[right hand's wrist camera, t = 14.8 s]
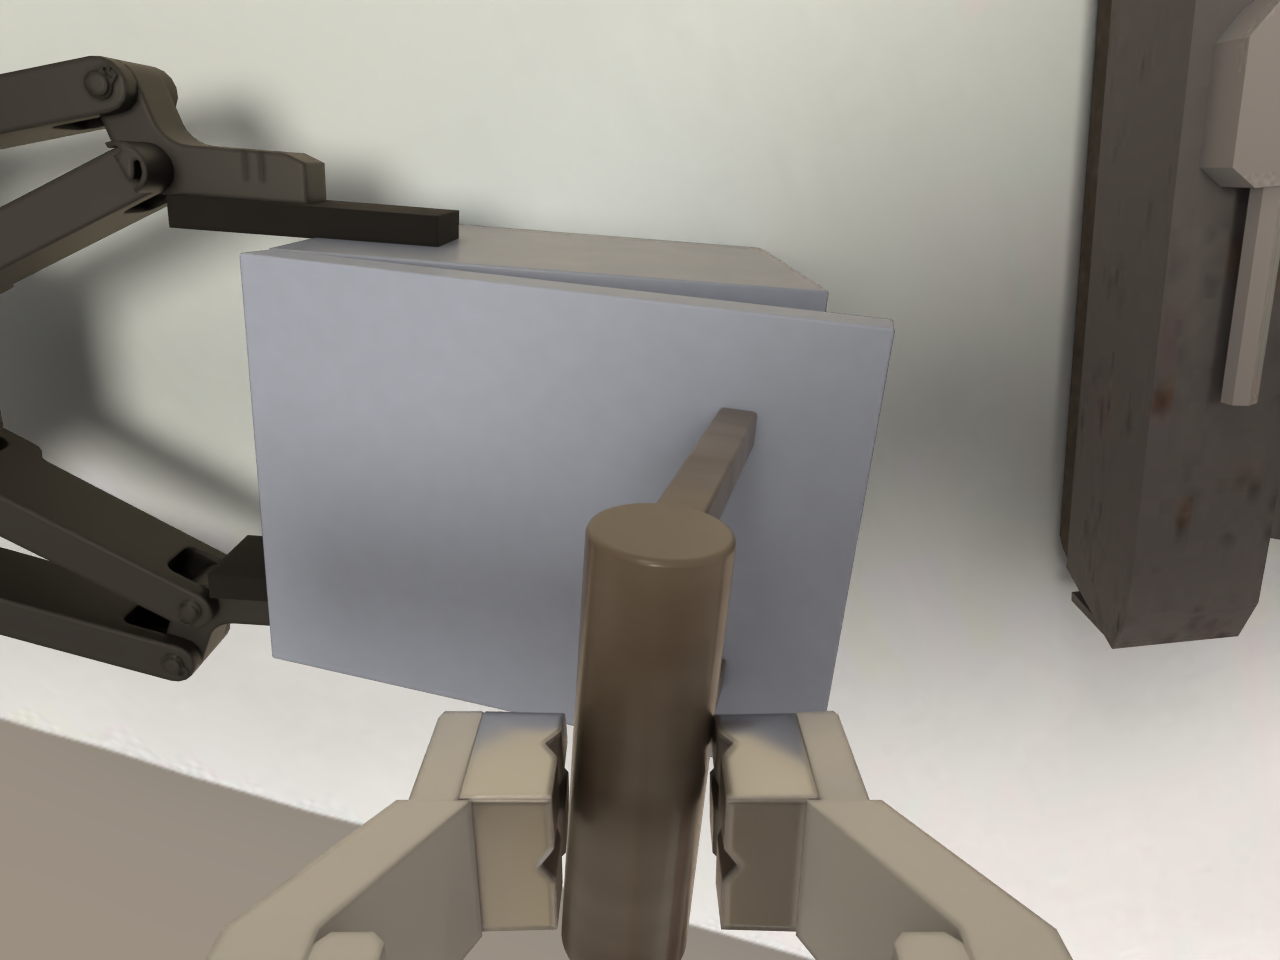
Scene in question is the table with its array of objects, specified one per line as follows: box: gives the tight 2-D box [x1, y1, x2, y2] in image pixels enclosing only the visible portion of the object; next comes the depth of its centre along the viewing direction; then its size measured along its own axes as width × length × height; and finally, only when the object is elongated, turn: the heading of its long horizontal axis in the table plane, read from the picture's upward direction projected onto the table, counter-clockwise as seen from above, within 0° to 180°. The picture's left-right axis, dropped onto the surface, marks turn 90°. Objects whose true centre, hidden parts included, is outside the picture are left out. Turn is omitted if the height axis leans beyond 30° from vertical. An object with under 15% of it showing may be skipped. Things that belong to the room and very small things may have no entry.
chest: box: [269, 224, 828, 312], centre depth 25 cm, size 12×9×10 cm
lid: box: [240, 249, 894, 960], centre depth 15 cm, size 13×9×8 cm
